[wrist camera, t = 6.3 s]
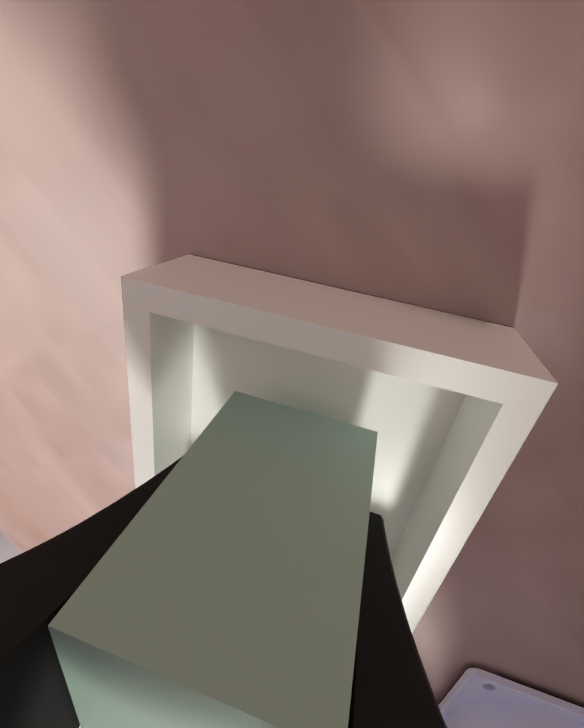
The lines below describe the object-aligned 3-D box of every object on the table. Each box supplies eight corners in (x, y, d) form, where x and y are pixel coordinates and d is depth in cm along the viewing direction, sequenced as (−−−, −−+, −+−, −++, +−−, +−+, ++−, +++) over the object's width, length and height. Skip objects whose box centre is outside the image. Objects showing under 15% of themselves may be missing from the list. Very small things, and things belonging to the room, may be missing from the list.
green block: (377, 431, 11) (344, 756, 5) (344, 530, 13) (292, 839, 7) (235, 390, 11) (47, 625, 5) (226, 491, 14) (85, 738, 8)
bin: (514, 327, 11) (558, 383, 8) (406, 552, 16) (408, 640, 13) (189, 254, 13) (120, 276, 9) (184, 478, 18) (138, 539, 14)
